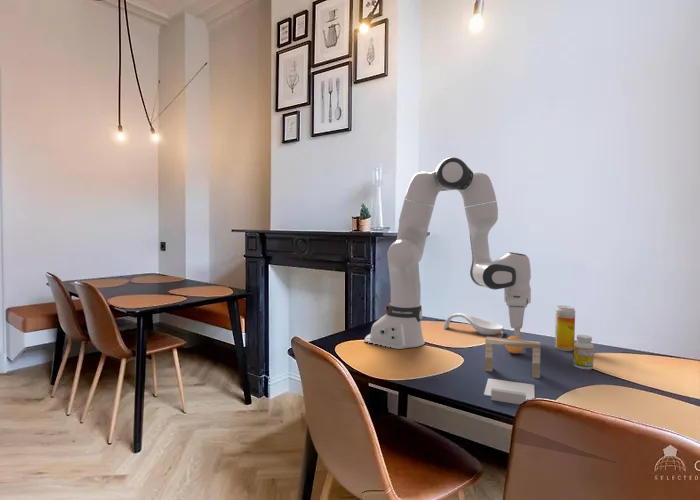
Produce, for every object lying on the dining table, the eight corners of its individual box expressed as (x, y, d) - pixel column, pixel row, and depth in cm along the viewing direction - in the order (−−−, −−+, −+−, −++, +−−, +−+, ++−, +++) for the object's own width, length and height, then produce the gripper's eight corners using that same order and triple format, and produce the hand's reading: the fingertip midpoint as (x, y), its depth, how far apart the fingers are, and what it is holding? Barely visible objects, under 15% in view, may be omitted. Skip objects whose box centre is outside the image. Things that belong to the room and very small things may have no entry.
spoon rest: (505, 332, 167) (505, 315, 167) (500, 339, 157) (500, 321, 157) (448, 325, 179) (448, 309, 178) (440, 331, 169) (440, 314, 168)
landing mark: (483, 395, 105) (483, 394, 105) (488, 379, 116) (488, 378, 116) (534, 403, 100) (534, 402, 100) (534, 385, 111) (534, 384, 111)
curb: (491, 399, 102) (491, 390, 102) (491, 397, 104) (491, 388, 103) (525, 405, 99) (525, 395, 99) (525, 402, 100) (526, 393, 100)
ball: (504, 354, 138) (504, 337, 137) (505, 349, 143) (505, 332, 143) (523, 356, 135) (524, 339, 135) (524, 351, 141) (524, 334, 140)
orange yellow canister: (576, 352, 140) (577, 309, 139) (557, 351, 141) (558, 308, 140) (570, 346, 146) (572, 305, 145) (552, 345, 147) (553, 305, 146)
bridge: (539, 378, 117) (540, 344, 116) (485, 370, 123) (485, 339, 122) (539, 374, 119) (540, 342, 119) (486, 367, 125) (486, 336, 125)
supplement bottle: (591, 371, 122) (592, 339, 121) (571, 367, 125) (572, 336, 125) (594, 366, 126) (595, 335, 125) (575, 362, 129) (576, 333, 129)
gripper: (509, 292, 157) (509, 327, 158) (506, 301, 139) (506, 341, 139) (527, 293, 155) (527, 328, 155) (526, 302, 136) (526, 343, 137)
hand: (517, 335), depth 147 cm, fingers closed
